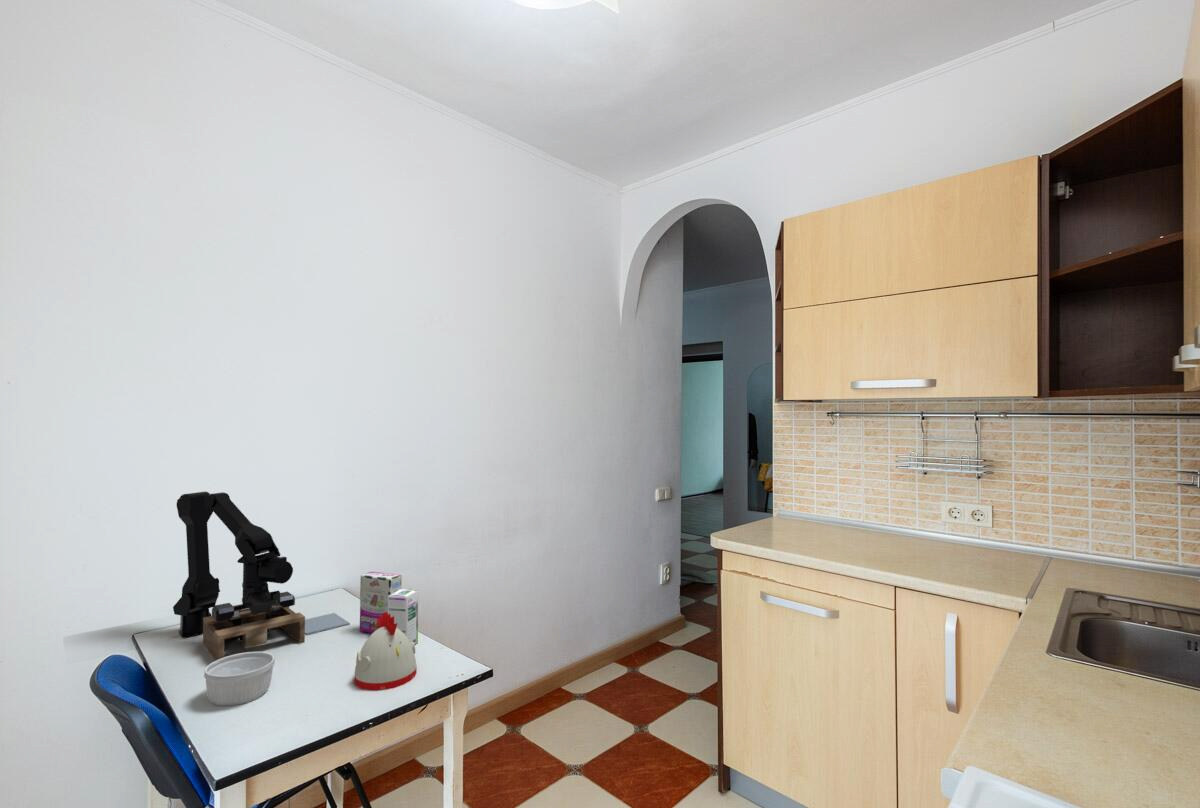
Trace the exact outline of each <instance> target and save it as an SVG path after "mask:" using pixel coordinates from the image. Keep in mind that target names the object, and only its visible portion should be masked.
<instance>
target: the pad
mask: <svg viewBox="0 0 1200 808" xmlns="http://www.w3.org/2000/svg"><path fill="white" fill-rule="evenodd" d="M348 625H350V622H349V621H348V620H345V619H344V618H343V617H341V616H340V615H338V614H337V613H335V612H332V613H327V614H323V615H318V616H314V617H311V618H305V636H310V635H312V634H317V633H321V632H325V631H330V630H332V629H333V630H334V629H337V628H340V627H345V626H348Z"/></svg>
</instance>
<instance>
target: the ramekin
mask: <svg viewBox="0 0 1200 808" xmlns="http://www.w3.org/2000/svg"><path fill="white" fill-rule="evenodd" d="M275 659H276V658H275V656H274V654H272V653H270V652H266V651H247V652H241V653H235V654H230V655H228V656H224V658H221V659H219V660H216V661H215V660H214V661H212V662H211V663H210V664H208V665H207V666H206V667H205V668H204V672H203V677H204V680H205V686H206V695H207V698H208V700H209V701H210V702H211V703H212V704H213V705H215V706H221V707H229V706H230V707H231V706H237V705H242V704H246V703H249V702H252V701H253V700H254V701H255V700H256V699H258V698H260V697H261V696H263V695H264V694H265V693H266V692H267V691H268V689H269V688H270V686H271V681H272V676H273V668H274V666H275Z"/></svg>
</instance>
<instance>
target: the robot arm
mask: <svg viewBox="0 0 1200 808" xmlns="http://www.w3.org/2000/svg"><path fill="white" fill-rule="evenodd" d="M176 510H177V515H178V517H179V519H180V520H181V521H182V522H183V523H184V525H185V530H186V531H185V532H186V553H187V571H188V572H187V574H188V577H187V578H186V580H185V582H184V584H182V587H181V588H182V589H181V597H180V598H179V599H178V600H177V602H176V603H175V604H174V605H173V607H172V609H173V610H172V611H173V614H174V615H176V616H180V617H179V618H180V623H179V624H180V627H179V630H178V634H179V635H180V637H181V638H183V639H185V638H191V637H194V636H198V635H203V618H204V617H209V616H212V617H213V618H214V619H215V620H216V621H222V620H228V621H229V622H232V623H233V625H234V627H236V626H240V625H242V624H241V621H242V617H241V616H240V615H239V614H240V612H242V611H247V610H250V611H251V614H252V615H258V614H259V613H264V612H266V620H268V619H272V618H275V617H276V615H277V614H278V613H279V612H280V611H282V610H283V609H284V607H289V608H290V607H293V606H294V605H296V598H295V596H294V595H293V594H292V593H290V592H289V591H282V592H281V591H280V590H272V591H270V590H269V584H268V583H274V584H281V585H282V584H285V583H287V582H288V581H289V580H290V579H291V578H292V576H293V573H294V567H293V566H292V564H291V562H289V561H288V560H287V559H288V557H287V556H281V553H280V551H279V550H280V549H279V548H278V546H277V545H276V542H275V541H274V539H273V536H272V534H270V533H269V531H267V530H266V529H265V528H263V527H261V526H258V525H255V524H254V523H252V522H251V521H250V520H249V519H248V518H247V516H245V515H244V513H243V512H242V511H241V509H240V508H239V507H238V506H237V505H236V504H235V503H234V502H233V501H232V500H231V498H230V495H229V494H228V493H226V492H215V493H210V492H208V491H197V492H191V493H183V494H181V495H180V496H179V498H177V500H176ZM213 513H214V514H215V515H216V517H217V518H218V519H219V520H220V521H221V522H222V523H223V525H225V526H226V528H227V529H228V530H229V532H230V533H231V534H233V536H234V544H235V546H236V548H237V549H238V551H239V553H240V554H241V555H242V556H241V557H240V558H239V559H238V560H237V563H239V564H243V566H242V583H241V584H242V598H241V603H240V604H236V605H232V603H230V602H226V603H225V602H224V603H221V604H217V602H218V601H217V600H218V598H219V597H220V596H219V595H220V594H219V593H220V592H221V590H220V579H219V577H216V578H215V577H214V576H213V575H212V574H211V570H210V569H211V568H210V551H209V550H210V549H209V532H208V531H209V530H208V522H209V520H210V518H211V517H212V515H213ZM210 609H211V612H210ZM270 631H271V629H270V628H269V629H267V636H268V635H269V633H270ZM242 636H243V635H239V636H238V637H237V638H238V640H239V641H240V642H241V641H242Z"/></svg>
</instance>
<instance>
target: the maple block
mask: <svg viewBox="0 0 1200 808" xmlns="http://www.w3.org/2000/svg"><path fill="white" fill-rule="evenodd" d="M261 621H262V620H261ZM257 622H259V621H257ZM252 623H254V622H252ZM248 624H249V623H248ZM243 625H245V624H243ZM240 644H241V645H242V646H243V647H244V648H245V649H250V648H252V647H258V646H262V645H266V644H268V635H267V629H265V630H260V631H256V632H252V633H247V634H243V636H242V641H240Z"/></svg>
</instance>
